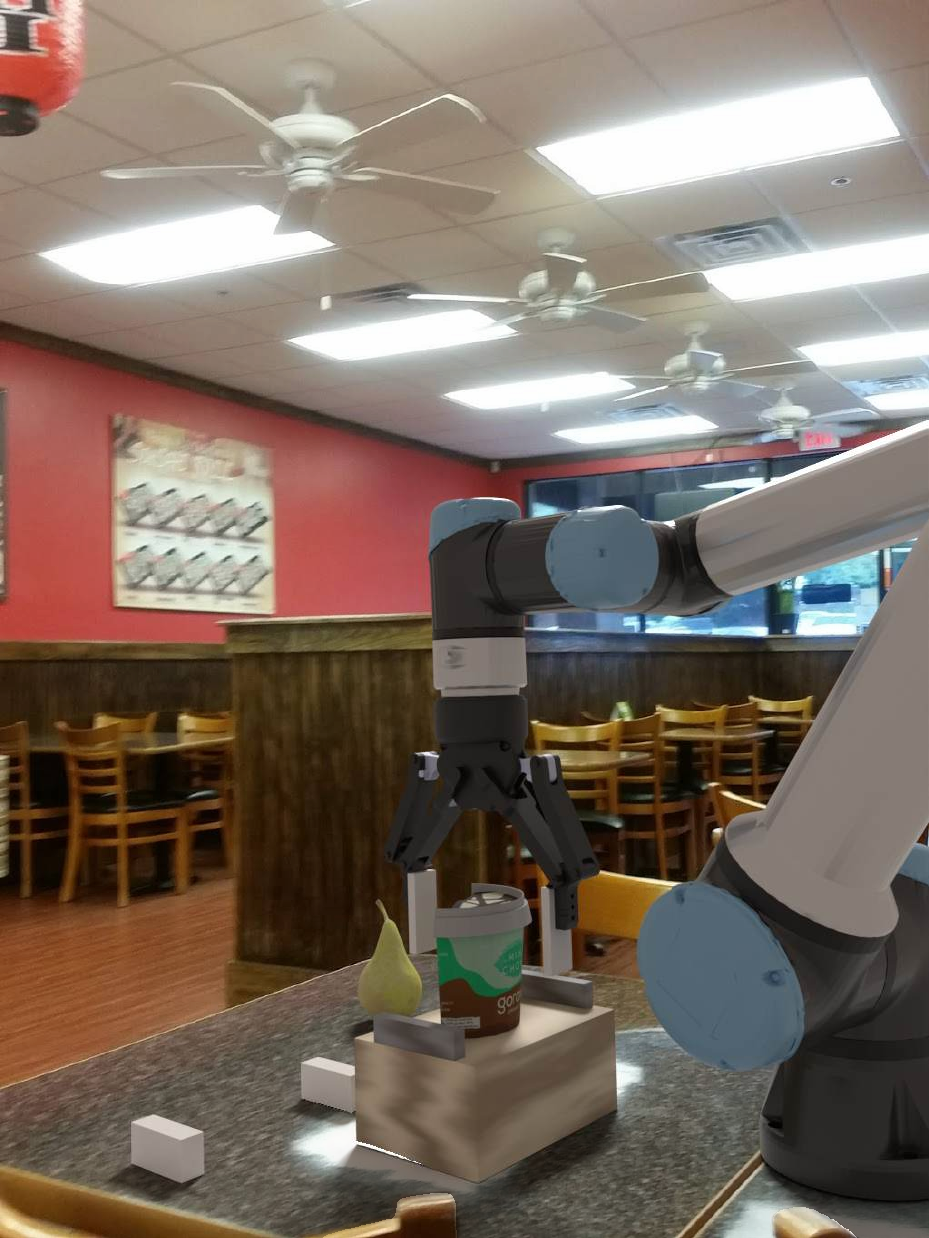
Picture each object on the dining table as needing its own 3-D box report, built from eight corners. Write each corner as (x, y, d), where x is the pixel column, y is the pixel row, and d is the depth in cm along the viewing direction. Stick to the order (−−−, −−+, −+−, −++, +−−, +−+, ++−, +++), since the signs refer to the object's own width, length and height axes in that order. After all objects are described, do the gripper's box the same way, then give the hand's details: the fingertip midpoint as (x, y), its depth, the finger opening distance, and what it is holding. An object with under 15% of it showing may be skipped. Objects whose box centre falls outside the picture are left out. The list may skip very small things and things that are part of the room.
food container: (516, 1049, 89) (513, 911, 89) (436, 1045, 90) (433, 909, 91) (547, 1004, 101) (544, 883, 101) (476, 1001, 102) (473, 882, 103)
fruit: (369, 1034, 121) (367, 913, 122) (348, 1016, 128) (345, 901, 129) (432, 1026, 124) (429, 907, 124) (407, 1008, 130) (405, 895, 131)
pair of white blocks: (368, 1106, 101) (368, 1069, 101) (181, 1183, 86) (181, 1140, 86) (318, 1091, 104) (318, 1056, 104) (131, 1163, 90) (130, 1122, 90)
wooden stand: (617, 1108, 99) (613, 984, 99) (478, 1183, 85) (474, 1037, 85) (501, 1080, 106) (498, 965, 107) (356, 1144, 92) (353, 1011, 93)
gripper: (337, 696, 102) (343, 951, 101) (582, 691, 86) (593, 993, 85) (397, 694, 108) (404, 935, 107) (638, 689, 92) (648, 971, 91)
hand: (488, 961), depth 96 cm, fingers open, 13 cm apart
